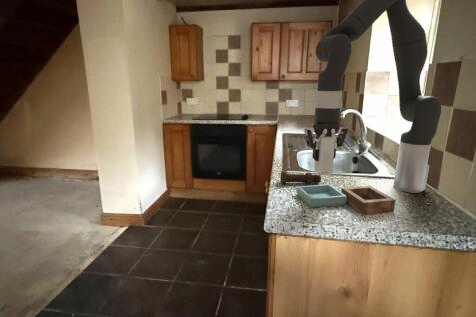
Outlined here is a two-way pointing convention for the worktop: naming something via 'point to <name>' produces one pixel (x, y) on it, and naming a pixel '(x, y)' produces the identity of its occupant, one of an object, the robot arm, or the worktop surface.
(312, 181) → the bolt
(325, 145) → the skincare box
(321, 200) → the tray
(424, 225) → the worktop surface
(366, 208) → the holder
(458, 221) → the worktop surface
